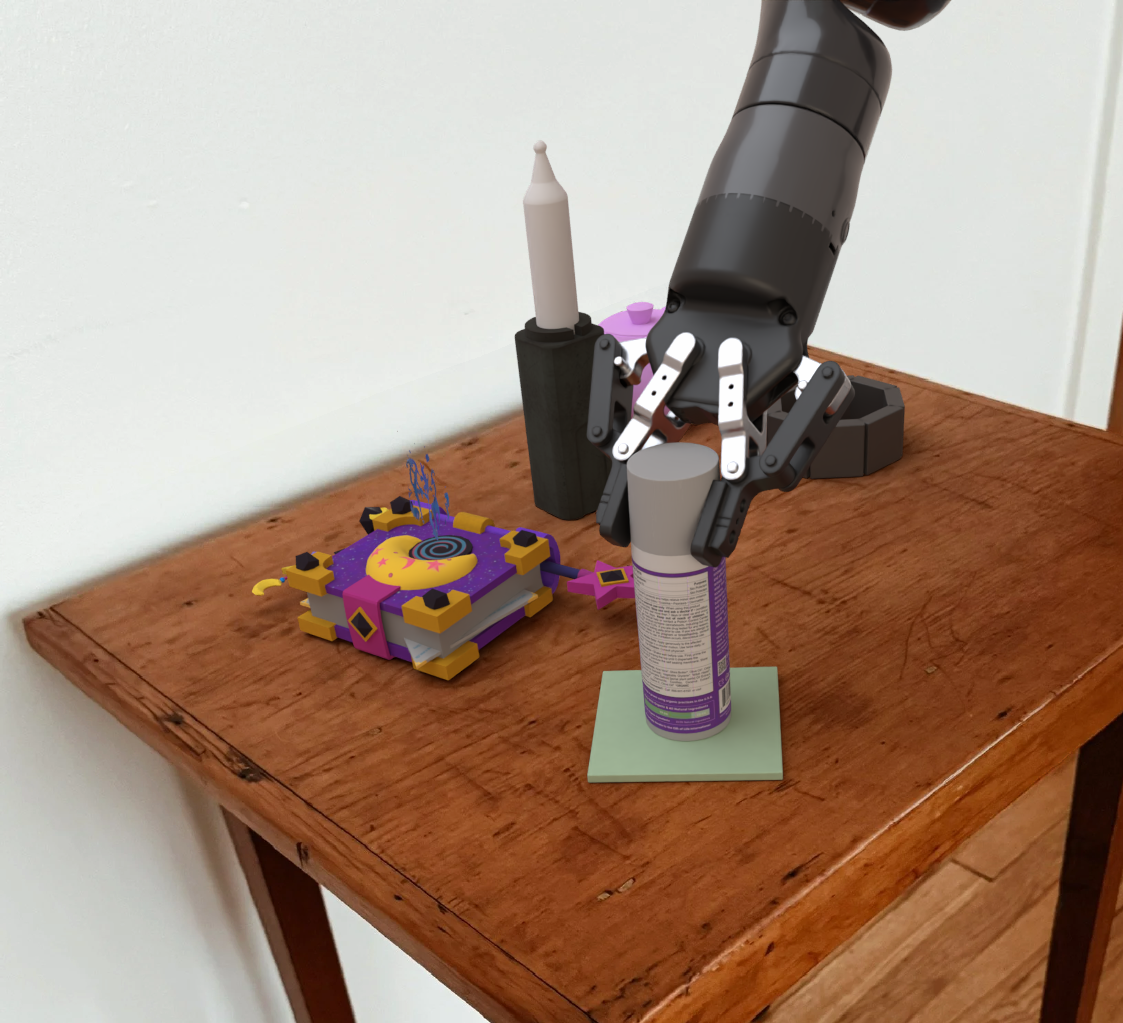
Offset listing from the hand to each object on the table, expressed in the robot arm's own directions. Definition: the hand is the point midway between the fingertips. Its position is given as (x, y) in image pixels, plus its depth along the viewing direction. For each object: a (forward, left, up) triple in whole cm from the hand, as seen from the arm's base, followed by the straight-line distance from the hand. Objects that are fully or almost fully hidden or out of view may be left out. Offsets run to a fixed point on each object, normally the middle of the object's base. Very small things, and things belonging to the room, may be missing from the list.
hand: (658, 549), depth 63 cm
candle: (+8, -31, -12) cm, 34 cm away
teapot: (+4, -46, -12) cm, 47 cm away
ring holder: (-11, -38, -12) cm, 41 cm away
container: (-1, -2, -11) cm, 11 cm away
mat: (-1, -2, -12) cm, 12 cm away
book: (+15, -14, -12) cm, 24 cm away
